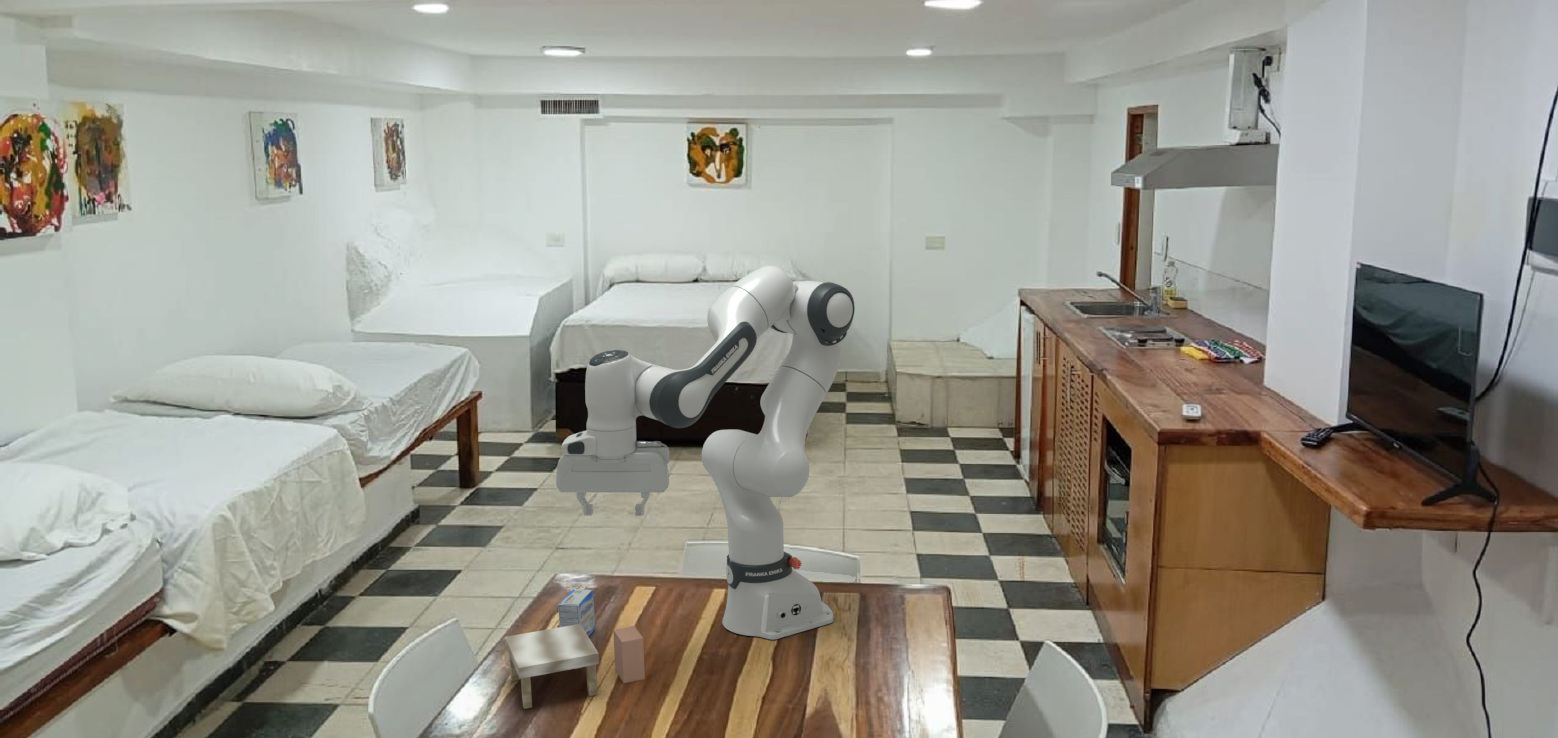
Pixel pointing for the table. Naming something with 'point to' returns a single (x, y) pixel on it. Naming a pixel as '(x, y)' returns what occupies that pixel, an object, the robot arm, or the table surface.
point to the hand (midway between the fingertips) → (614, 514)
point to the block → (629, 654)
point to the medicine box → (578, 610)
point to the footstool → (551, 656)
